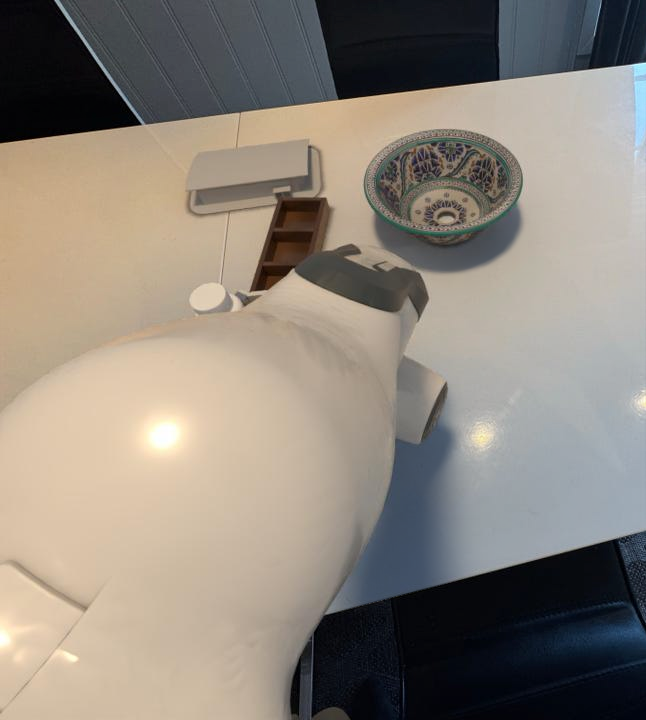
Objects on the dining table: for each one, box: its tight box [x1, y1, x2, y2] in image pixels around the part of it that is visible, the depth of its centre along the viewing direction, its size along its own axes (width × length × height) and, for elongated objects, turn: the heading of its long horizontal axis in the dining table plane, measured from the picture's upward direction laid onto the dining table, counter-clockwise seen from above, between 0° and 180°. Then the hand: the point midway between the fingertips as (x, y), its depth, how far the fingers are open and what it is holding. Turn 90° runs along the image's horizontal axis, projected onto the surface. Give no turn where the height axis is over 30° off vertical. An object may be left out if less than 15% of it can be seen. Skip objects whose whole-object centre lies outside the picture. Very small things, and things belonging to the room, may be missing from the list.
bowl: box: [363, 128, 524, 246], centre depth 83 cm, size 25×25×10 cm
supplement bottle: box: [188, 282, 245, 316], centre depth 61 cm, size 5×5×10 cm
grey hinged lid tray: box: [184, 138, 322, 215], centre depth 92 cm, size 15×23×4 cm, turn 102°
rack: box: [248, 196, 331, 292], centre depth 78 cm, size 8×38×3 cm, turn 0°
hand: (218, 316), depth 60 cm, fingers closed on supplement bottle, 5 cm apart
